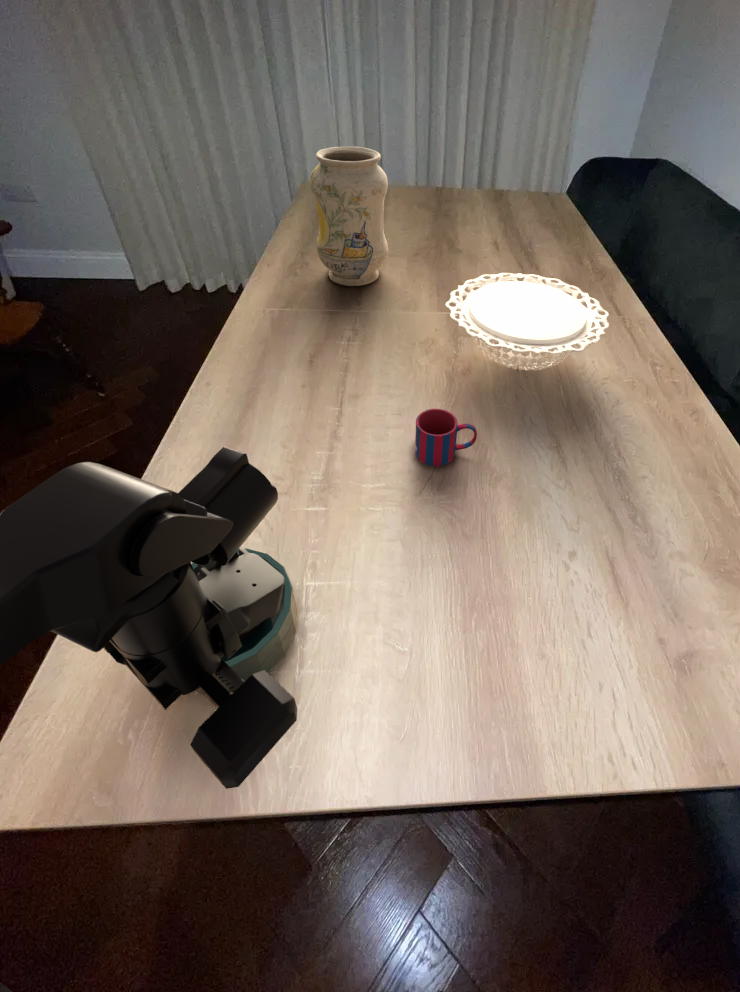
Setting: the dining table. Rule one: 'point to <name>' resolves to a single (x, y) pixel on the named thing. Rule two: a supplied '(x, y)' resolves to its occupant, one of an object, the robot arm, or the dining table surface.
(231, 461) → the robot arm
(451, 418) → the mug
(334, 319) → the dining table surface
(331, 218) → the vase
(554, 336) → the white lattice bowl
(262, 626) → the bowl
